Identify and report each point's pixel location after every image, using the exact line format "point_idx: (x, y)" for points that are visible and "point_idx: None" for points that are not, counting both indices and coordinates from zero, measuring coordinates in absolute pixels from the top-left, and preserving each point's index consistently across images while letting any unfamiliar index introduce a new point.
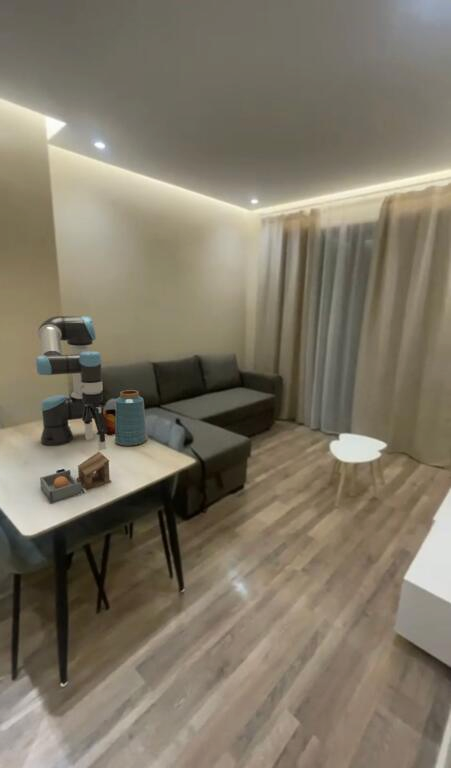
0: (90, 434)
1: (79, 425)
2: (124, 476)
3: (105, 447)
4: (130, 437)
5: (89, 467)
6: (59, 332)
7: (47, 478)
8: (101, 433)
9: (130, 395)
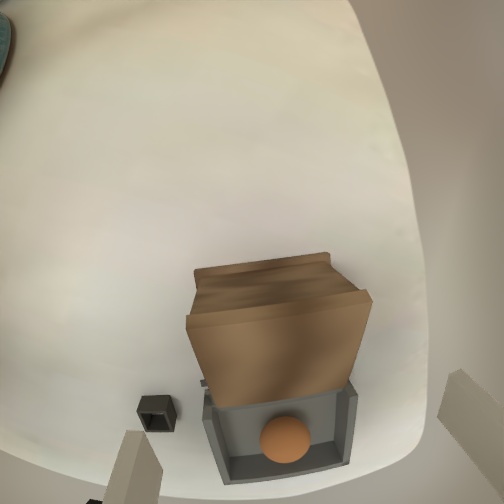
0: (142, 479)
1: None
2: (299, 177)
3: (467, 376)
4: None
5: (304, 379)
6: None
7: (227, 467)
8: None
9: None
